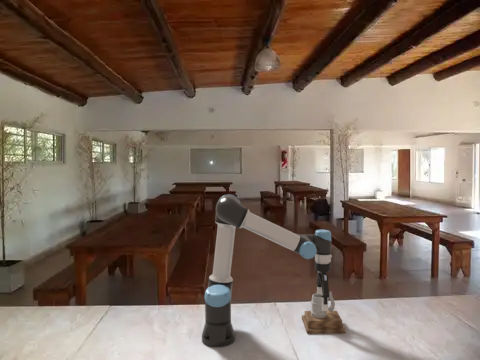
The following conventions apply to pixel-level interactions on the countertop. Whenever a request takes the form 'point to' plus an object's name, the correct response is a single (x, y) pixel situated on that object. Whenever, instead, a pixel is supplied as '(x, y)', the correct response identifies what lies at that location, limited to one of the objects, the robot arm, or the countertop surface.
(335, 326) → the plinth
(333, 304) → the mug
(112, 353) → the countertop surface
